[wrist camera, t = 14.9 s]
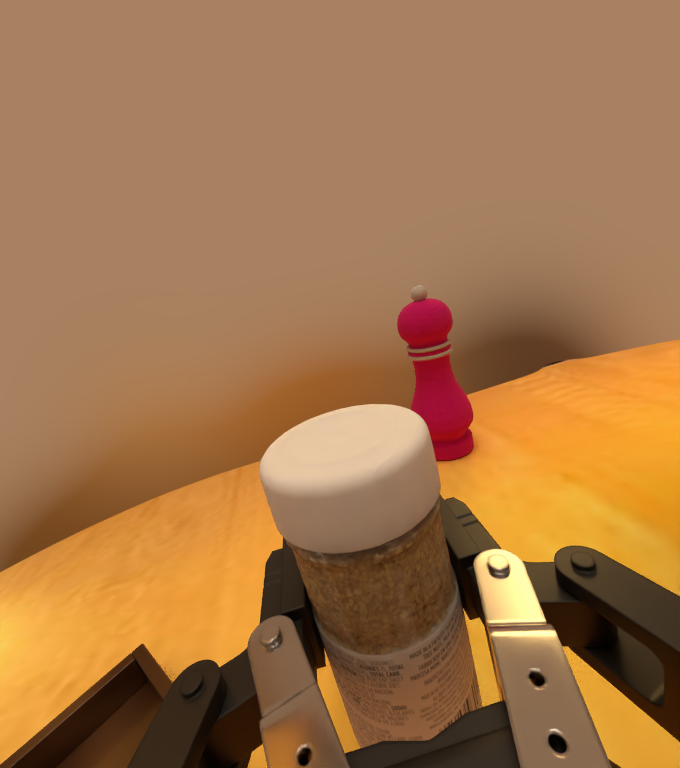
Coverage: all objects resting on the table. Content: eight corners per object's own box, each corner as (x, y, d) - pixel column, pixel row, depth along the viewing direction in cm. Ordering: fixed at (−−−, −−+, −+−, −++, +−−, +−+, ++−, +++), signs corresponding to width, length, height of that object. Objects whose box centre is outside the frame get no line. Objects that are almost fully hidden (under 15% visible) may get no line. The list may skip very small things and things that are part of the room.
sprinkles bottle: (428, 671, 16) (358, 390, 12) (527, 775, 12) (468, 413, 9) (345, 757, 14) (232, 447, 10) (434, 916, 10) (303, 511, 6)
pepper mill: (467, 466, 40) (437, 284, 34) (408, 459, 44) (372, 297, 39) (485, 435, 45) (461, 273, 40) (430, 432, 50) (402, 286, 44)
